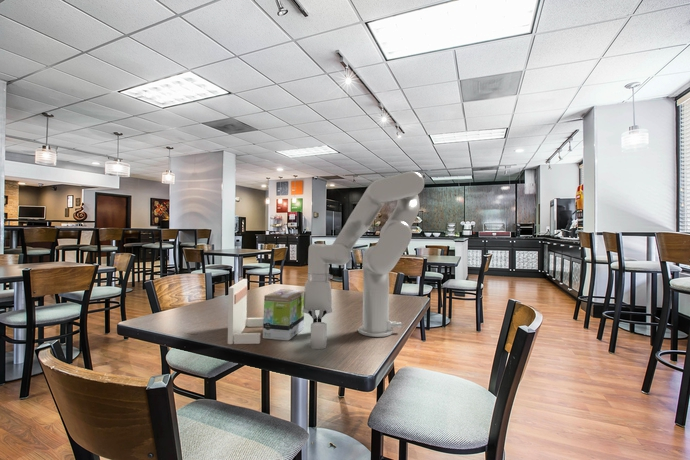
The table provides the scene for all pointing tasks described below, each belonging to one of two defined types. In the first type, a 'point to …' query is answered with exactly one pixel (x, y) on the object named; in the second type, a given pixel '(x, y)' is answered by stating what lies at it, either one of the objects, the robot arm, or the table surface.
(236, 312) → the display stand
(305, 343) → the table surface
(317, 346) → the white cylinder
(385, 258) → the robot arm
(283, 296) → the tea box
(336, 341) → the table surface
